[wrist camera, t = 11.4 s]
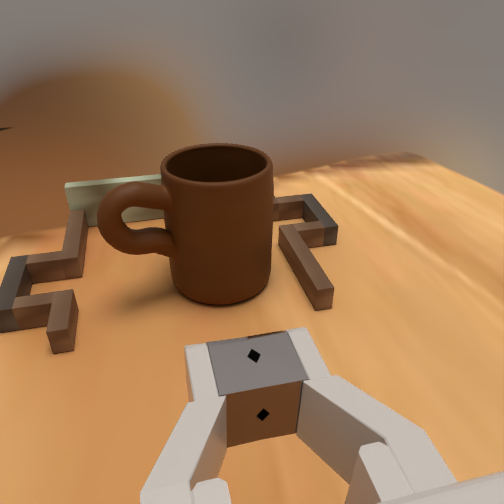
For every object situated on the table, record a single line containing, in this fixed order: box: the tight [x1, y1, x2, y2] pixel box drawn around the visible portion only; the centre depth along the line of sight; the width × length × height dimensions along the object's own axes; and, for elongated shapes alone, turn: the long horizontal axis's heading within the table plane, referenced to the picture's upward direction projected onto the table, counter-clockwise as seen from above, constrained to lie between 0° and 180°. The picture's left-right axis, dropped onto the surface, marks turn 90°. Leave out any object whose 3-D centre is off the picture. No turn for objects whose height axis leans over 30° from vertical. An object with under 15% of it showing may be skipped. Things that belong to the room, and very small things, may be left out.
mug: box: [97, 143, 274, 305], centre depth 31 cm, size 12×8×9 cm, turn 120°
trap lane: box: [0, 174, 338, 354], centre depth 36 cm, size 26×17×4 cm, turn 104°
